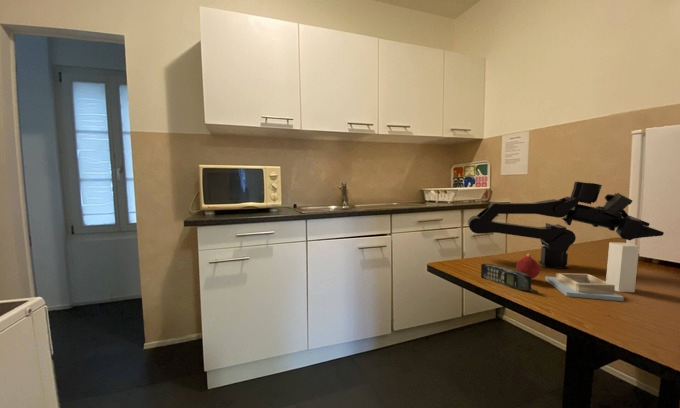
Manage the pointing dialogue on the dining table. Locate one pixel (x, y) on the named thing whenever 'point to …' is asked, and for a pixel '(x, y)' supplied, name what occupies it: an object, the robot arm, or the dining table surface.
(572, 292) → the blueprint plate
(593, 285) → the socket collar
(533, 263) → the onion
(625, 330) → the dining table surface
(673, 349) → the dining table surface
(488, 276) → the mobile phone
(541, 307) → the dining table surface
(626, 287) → the block
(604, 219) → the robot arm
